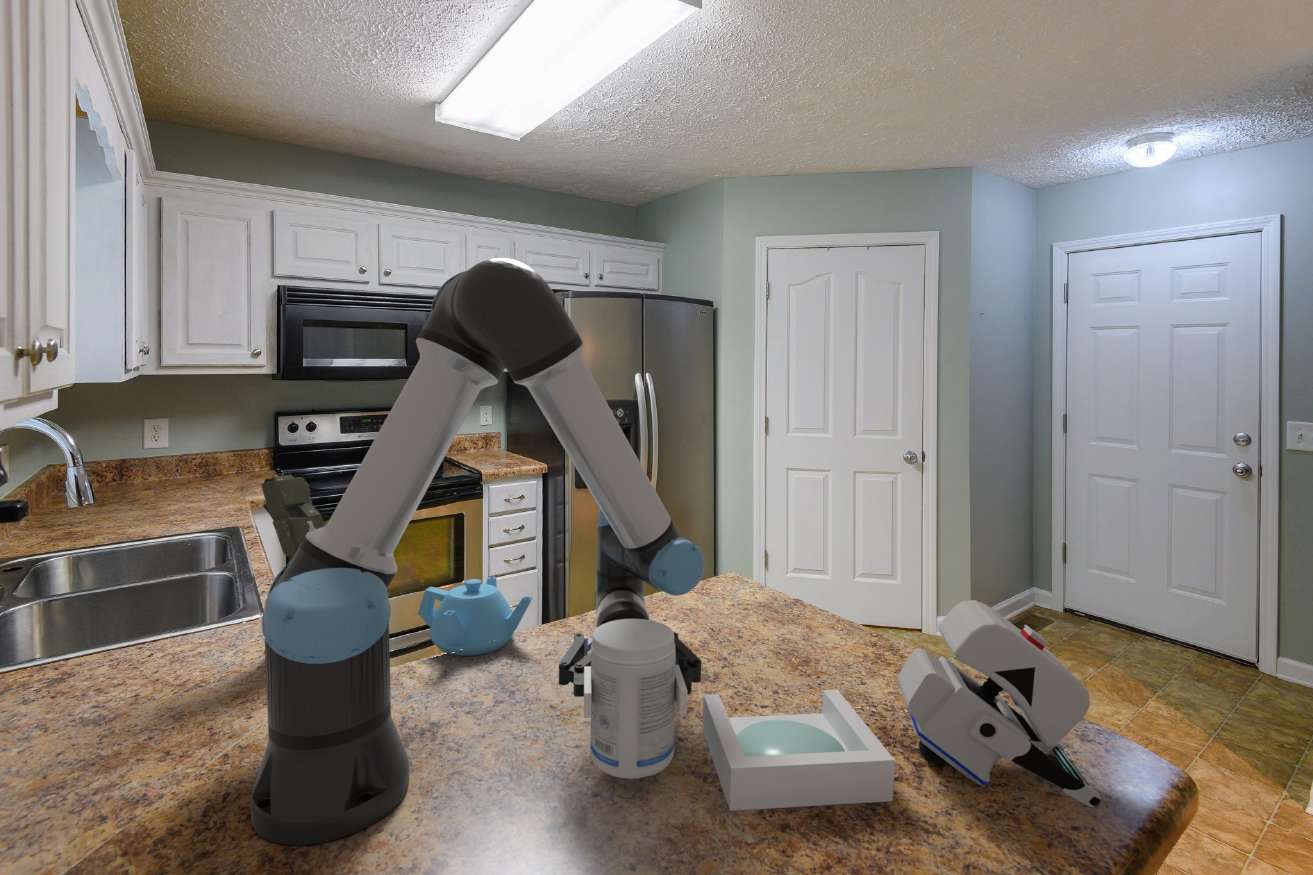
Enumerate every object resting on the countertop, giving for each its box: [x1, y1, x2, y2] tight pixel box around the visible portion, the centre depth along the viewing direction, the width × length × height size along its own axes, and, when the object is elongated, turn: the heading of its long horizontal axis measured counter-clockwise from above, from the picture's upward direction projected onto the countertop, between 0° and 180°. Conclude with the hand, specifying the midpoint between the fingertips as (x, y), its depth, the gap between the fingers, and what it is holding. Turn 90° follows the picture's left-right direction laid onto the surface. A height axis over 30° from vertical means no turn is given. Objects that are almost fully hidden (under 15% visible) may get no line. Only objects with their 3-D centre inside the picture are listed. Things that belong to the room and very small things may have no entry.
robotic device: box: [897, 599, 1103, 808], centre depth 76 cm, size 10×21×20 cm
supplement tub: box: [590, 619, 676, 780], centre depth 73 cm, size 10×10×15 cm
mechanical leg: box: [260, 474, 325, 563], centre depth 106 cm, size 14×7×30 cm, turn 57°
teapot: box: [417, 576, 533, 657], centre depth 111 cm, size 15×15×11 cm
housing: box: [702, 689, 896, 812], centre depth 77 cm, size 18×16×5 cm
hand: (636, 704), depth 69 cm, fingers closed on supplement tub, 9 cm apart
